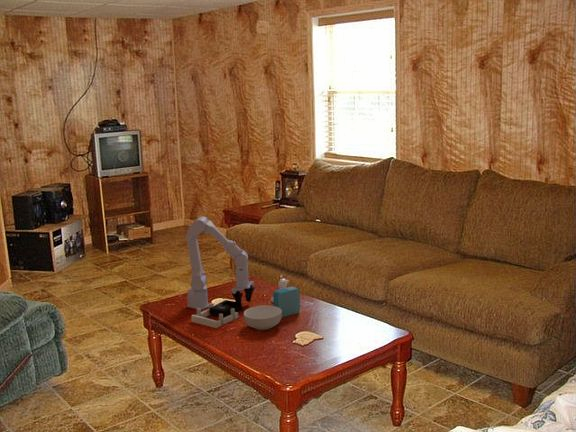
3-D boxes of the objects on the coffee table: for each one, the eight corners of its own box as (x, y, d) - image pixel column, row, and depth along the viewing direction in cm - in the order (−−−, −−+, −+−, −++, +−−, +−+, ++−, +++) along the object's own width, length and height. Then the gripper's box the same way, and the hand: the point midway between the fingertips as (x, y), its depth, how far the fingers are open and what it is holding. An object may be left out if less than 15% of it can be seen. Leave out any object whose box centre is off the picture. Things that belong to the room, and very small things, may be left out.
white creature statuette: (284, 297, 319) (283, 274, 317) (296, 301, 313) (295, 277, 311) (270, 301, 313) (269, 278, 311) (281, 305, 307) (281, 282, 305)
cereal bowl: (260, 317, 293) (259, 302, 292) (289, 324, 284) (289, 309, 282) (236, 329, 280) (235, 314, 278) (266, 337, 270) (266, 321, 269)
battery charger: (226, 319, 292) (225, 311, 291) (209, 316, 297) (209, 308, 296) (242, 310, 303) (241, 302, 302) (226, 307, 308) (225, 299, 307)
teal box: (294, 309, 301) (294, 285, 299) (300, 312, 298) (299, 288, 295) (273, 315, 295) (272, 291, 292) (279, 318, 291) (278, 293, 288)
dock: (191, 321, 290) (190, 311, 289) (214, 311, 302) (213, 301, 301) (216, 328, 281) (216, 317, 280) (238, 317, 293) (238, 307, 292)
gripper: (239, 282, 297) (240, 309, 299) (258, 273, 308) (259, 300, 311) (227, 279, 301) (229, 306, 304) (247, 271, 312) (248, 298, 315)
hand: (243, 303), depth 307 cm, fingers open, 6 cm apart
